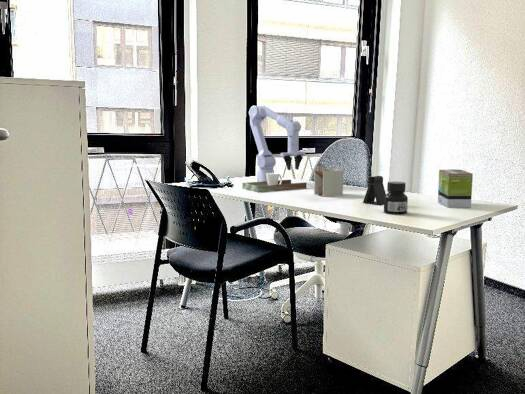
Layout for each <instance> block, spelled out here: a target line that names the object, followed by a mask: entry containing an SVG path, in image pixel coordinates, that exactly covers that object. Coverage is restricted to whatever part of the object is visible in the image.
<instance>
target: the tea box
mask: <svg viewBox="0 0 525 394" xmlns="http://www.w3.org/2000/svg"><path fill="white" fill-rule="evenodd" d="M473 175H474V174H473V173H472V172H469V171H466V170H463V169H454V168H452V169H451V168H450V169H449V168H448V169H439V170H438V184H437V185H438V187H437V189H438V190H437V202H438V203H440V204H441V205H443V206H444V207H446V208H447V209H448V208H449V209H470V208H472V192H473Z"/></svg>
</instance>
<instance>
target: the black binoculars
mask: <svg viewBox="0 0 525 394" xmlns="http://www.w3.org/2000/svg"><path fill="white" fill-rule="evenodd" d="M368 181H369V184H368V187H367V189H366V193H365V195H364V198H363V201H362V203H363V204H364V203H365V204H366V205H372V206H378V205H379V207H381V206H384V196H385V195H386V194H387V193H386V190H385V186H384V177H383V176H382V175H376V176H370V178H369V180H368ZM365 204H364V205H365Z"/></svg>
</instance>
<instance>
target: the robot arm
mask: <svg viewBox="0 0 525 394" xmlns="http://www.w3.org/2000/svg"><path fill="white" fill-rule="evenodd" d="M248 115H249V126H250V128H251V131H252V135H253V137H254V141H255V144H256V147H257V148H256V149H257V151H258V154H257V155H256V159H257V161H256V162H257V167H258V169H257V173H256V174H257V177H256V182H263V181H267V177H266V173H274V167H275V166H276V163H277V161H276V158H275V157H274V155H273V153H272V152H271V151H270V150H269V149H268V148H269V147H268V145H267V142H266V138H265V135H264V131H263V128H262V126H261V124H262V122H263V121H264V120H265V119H266V118H267V117H268V118H270V119H272V120H274V121H276V123H277V125H278V126H280V127H281V128H283V129H285V130H286V132H287V133H286V134H287V152H280V157H282V158H283V160H284V162H285V165H286V168H287V170H288V171H291V170H292V159H293V158H294V169H295V170H297V171H298V170H299V168H300V165H301V163H302V160H303V158H304V157H305V156H306V152H305V151H299V148H300V147H299V144H300V143H299V139H300V137H299V136H300V131H301V129H302V125H301V123H300V122H299V120H298V121H297V120H296V121H294V119H292V118H289V117H288V116H287V115H286V114H281V115H279V113H276V112H275V111H273V110H272V109H271V108H270V107H268V106H266V105H252V106H251V107H250V108H249V111H248Z"/></svg>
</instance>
